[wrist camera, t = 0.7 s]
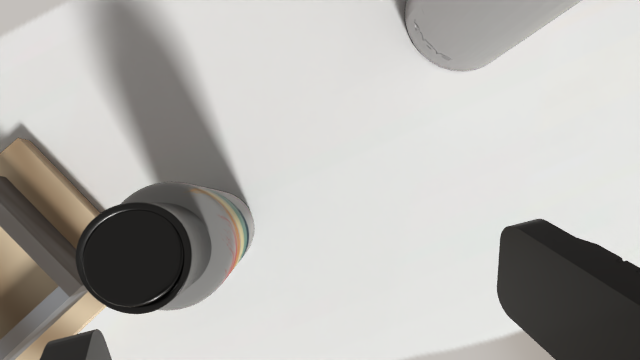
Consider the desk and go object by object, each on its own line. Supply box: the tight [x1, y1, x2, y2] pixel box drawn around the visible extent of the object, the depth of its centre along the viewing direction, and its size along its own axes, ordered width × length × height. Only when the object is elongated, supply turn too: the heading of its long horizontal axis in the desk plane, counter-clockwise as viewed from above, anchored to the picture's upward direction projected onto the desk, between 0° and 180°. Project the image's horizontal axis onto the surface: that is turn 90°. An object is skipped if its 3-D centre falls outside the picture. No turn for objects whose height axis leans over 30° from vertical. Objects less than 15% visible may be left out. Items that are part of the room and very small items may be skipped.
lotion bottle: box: [75, 182, 254, 314], centre depth 24 cm, size 6×6×20 cm
